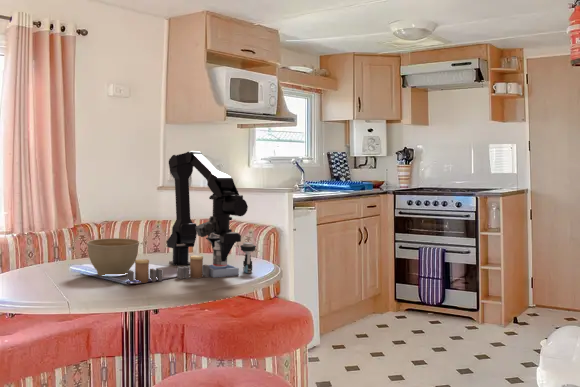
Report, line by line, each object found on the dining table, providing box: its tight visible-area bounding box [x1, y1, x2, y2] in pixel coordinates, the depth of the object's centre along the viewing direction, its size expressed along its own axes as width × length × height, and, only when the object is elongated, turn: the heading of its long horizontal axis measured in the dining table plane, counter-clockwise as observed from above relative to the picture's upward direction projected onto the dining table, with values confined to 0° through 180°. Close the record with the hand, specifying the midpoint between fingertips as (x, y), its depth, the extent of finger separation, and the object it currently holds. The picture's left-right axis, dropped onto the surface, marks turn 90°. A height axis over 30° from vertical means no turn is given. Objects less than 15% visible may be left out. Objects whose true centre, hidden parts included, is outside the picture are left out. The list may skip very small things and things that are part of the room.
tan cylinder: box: [189, 255, 204, 279], centre depth 187 cm, size 4×4×7 cm
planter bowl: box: [86, 237, 140, 277], centre depth 186 cm, size 16×16×11 cm
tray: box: [202, 263, 240, 279], centre depth 192 cm, size 9×9×2 cm
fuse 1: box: [134, 258, 150, 284], centre depth 177 cm, size 4×4×7 cm
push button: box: [240, 241, 257, 274], centre depth 197 cm, size 7×5×10 cm
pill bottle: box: [212, 241, 228, 267], centre depth 192 cm, size 5×5×8 cm
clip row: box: [127, 264, 210, 282], centre depth 182 cm, size 3×26×4 cm, turn 122°
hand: (220, 260), depth 192 cm, fingers closed on pill bottle, 5 cm apart
